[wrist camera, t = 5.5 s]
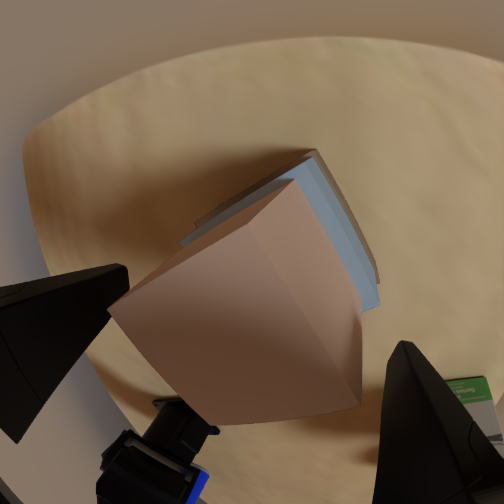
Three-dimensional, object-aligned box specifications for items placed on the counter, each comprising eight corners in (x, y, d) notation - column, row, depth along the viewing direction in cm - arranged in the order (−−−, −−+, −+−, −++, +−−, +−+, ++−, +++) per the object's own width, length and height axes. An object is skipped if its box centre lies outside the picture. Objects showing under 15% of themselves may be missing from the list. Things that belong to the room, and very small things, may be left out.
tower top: (271, 313, 15) (255, 349, 12) (209, 220, 14) (178, 241, 11) (374, 270, 12) (380, 305, 10) (312, 156, 11) (303, 162, 9)
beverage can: (180, 458, 36) (141, 520, 23) (207, 467, 35) (170, 534, 22) (188, 468, 38) (153, 526, 25) (213, 477, 37) (180, 538, 24)
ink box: (441, 378, 16) (456, 513, 6) (488, 374, 15) (515, 493, 4) (409, 433, 19) (404, 537, 9) (450, 430, 18) (454, 527, 8)
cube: (255, 336, 12) (210, 425, 8) (189, 243, 11) (106, 309, 7) (360, 297, 10) (361, 405, 6) (295, 179, 9) (247, 223, 5)
